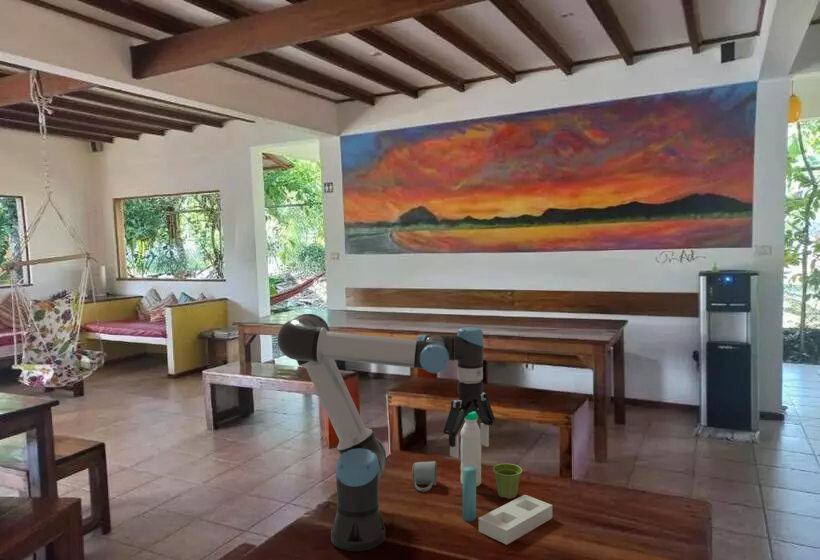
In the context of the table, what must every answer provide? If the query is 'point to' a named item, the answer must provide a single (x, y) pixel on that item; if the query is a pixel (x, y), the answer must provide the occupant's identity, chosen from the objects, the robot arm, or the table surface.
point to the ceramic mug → (424, 475)
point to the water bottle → (471, 446)
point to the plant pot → (507, 479)
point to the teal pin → (469, 494)
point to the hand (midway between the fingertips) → (469, 451)
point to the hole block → (515, 519)
